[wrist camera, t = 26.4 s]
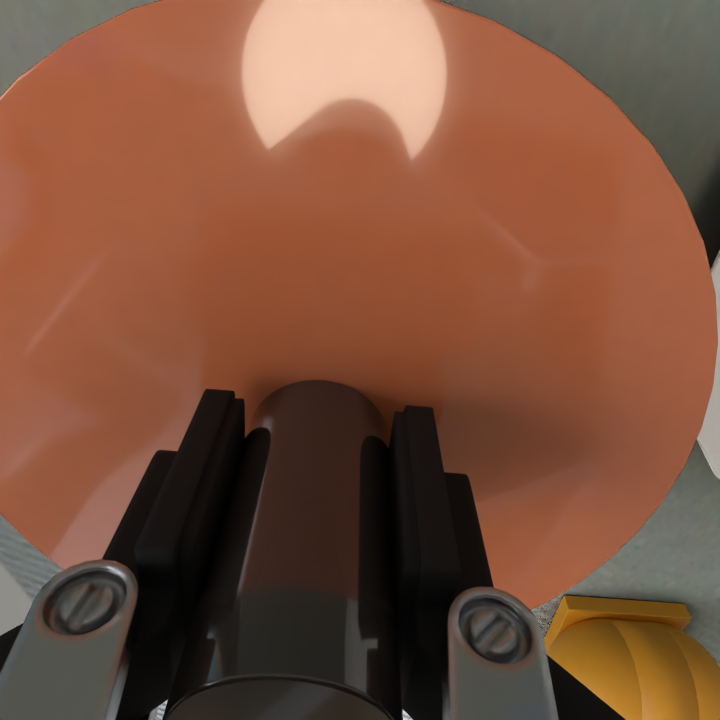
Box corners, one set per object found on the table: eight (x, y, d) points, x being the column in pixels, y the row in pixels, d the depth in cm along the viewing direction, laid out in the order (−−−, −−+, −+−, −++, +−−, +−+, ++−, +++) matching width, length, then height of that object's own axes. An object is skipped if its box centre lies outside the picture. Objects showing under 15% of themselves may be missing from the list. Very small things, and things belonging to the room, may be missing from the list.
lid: (37, 601, 17) (-149, 927, 11) (-186, -76, 8) (-1672, -354, 2) (565, 637, 17) (671, 963, 11) (853, 43, 9) (1864, 75, 3)
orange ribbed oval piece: (517, 653, 29) (548, 781, 24) (546, 585, 26) (588, 715, 21) (665, 662, 29) (725, 791, 24) (709, 597, 27) (787, 728, 22)
